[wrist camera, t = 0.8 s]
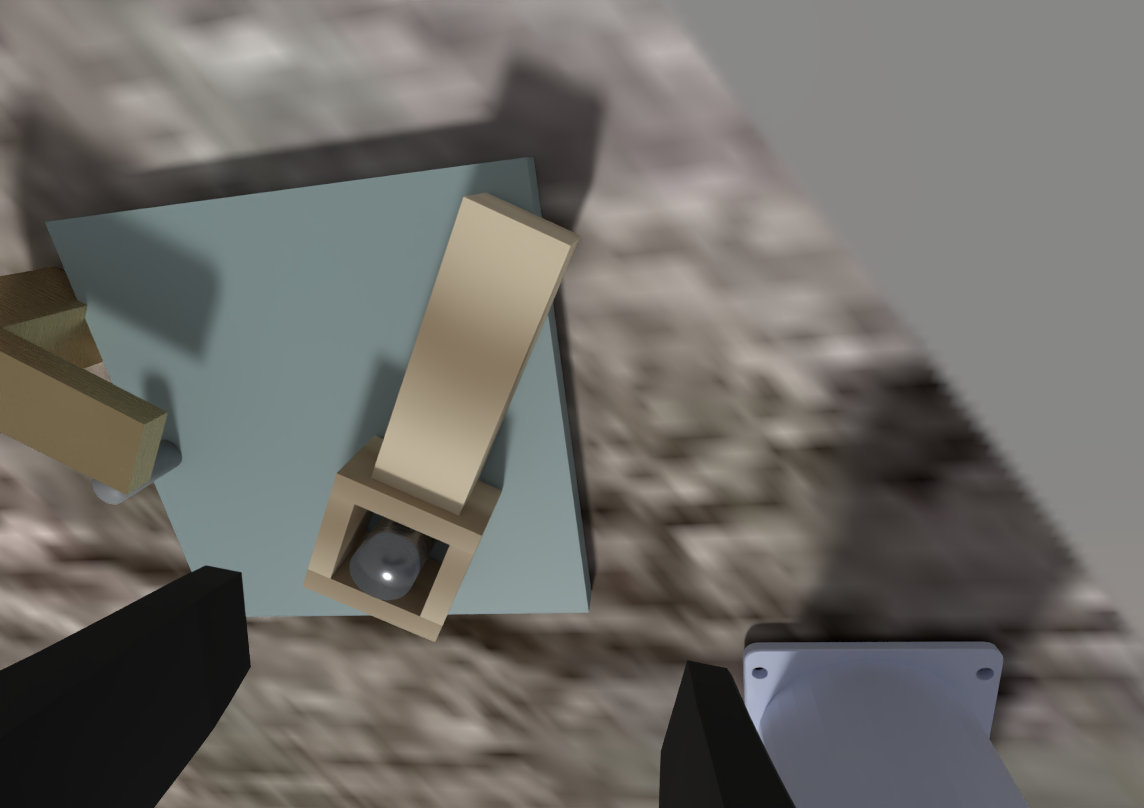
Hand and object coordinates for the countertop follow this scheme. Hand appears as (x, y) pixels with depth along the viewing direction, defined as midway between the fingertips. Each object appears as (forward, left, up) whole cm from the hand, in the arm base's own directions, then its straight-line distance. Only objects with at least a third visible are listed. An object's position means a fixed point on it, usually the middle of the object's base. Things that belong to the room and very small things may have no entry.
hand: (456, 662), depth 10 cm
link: (+1, +2, -9) cm, 9 cm away
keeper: (+3, +13, -10) cm, 16 cm away
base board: (0, +6, -10) cm, 12 cm away
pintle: (-3, +4, -10) cm, 11 cm away
